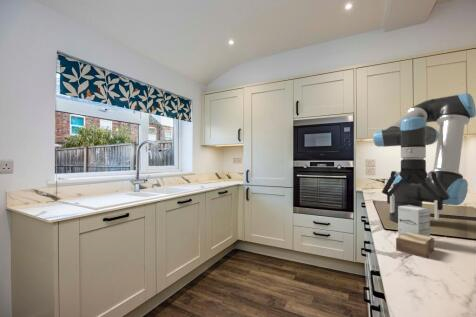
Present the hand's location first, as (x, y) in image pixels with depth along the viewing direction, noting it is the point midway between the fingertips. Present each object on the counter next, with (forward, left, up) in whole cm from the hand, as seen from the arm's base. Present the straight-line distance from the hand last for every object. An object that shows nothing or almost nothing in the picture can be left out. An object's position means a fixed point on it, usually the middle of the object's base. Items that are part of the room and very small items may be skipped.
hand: (413, 215), depth 86 cm
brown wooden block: (+11, +3, -9) cm, 14 cm away
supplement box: (0, 0, -10) cm, 10 cm away
